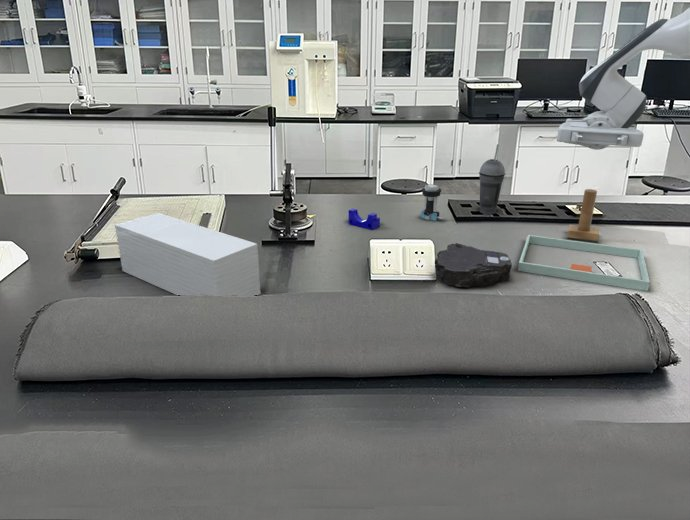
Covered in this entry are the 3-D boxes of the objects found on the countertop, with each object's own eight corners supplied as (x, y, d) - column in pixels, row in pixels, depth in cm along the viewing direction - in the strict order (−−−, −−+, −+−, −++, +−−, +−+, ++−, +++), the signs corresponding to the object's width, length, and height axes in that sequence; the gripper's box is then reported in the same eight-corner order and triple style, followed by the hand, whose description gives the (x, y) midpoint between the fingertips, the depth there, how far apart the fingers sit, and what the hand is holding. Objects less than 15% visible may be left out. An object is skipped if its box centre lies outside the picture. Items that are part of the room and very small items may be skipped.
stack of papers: (122, 271, 116) (114, 224, 112) (164, 256, 124) (158, 212, 120) (218, 314, 98) (213, 260, 94) (260, 293, 106) (257, 243, 102)
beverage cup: (491, 207, 161) (499, 140, 153) (505, 214, 155) (514, 145, 147) (470, 209, 159) (477, 142, 151) (483, 216, 153) (491, 146, 145)
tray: (639, 260, 123) (642, 249, 122) (647, 293, 107) (650, 282, 106) (526, 244, 132) (527, 234, 131) (517, 273, 116) (518, 262, 115)
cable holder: (379, 226, 144) (380, 212, 143) (372, 230, 142) (372, 215, 140) (356, 220, 149) (356, 207, 147) (348, 224, 146) (348, 210, 145)
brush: (596, 239, 136) (606, 189, 131) (596, 245, 132) (606, 194, 127) (567, 235, 138) (575, 186, 133) (566, 241, 134) (575, 191, 129)
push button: (446, 221, 149) (449, 186, 145) (437, 225, 145) (440, 190, 141) (425, 216, 153) (428, 182, 149) (416, 221, 149) (418, 186, 145)
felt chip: (590, 271, 115) (591, 266, 115) (590, 278, 112) (591, 273, 112) (570, 268, 117) (571, 263, 116) (570, 275, 113) (571, 270, 113)
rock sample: (465, 299, 104) (467, 276, 102) (414, 271, 116) (415, 250, 115) (525, 279, 113) (528, 258, 111) (472, 255, 125) (474, 236, 123)
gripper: (638, 147, 141) (643, 156, 130) (557, 141, 149) (554, 150, 137) (644, 122, 139) (648, 130, 127) (560, 118, 146) (558, 125, 135)
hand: (599, 140), depth 132 cm, fingers open, 8 cm apart
